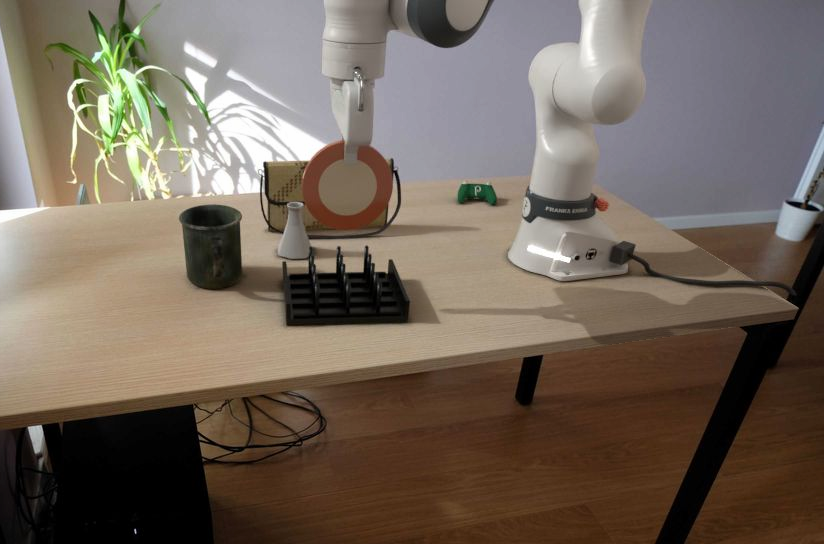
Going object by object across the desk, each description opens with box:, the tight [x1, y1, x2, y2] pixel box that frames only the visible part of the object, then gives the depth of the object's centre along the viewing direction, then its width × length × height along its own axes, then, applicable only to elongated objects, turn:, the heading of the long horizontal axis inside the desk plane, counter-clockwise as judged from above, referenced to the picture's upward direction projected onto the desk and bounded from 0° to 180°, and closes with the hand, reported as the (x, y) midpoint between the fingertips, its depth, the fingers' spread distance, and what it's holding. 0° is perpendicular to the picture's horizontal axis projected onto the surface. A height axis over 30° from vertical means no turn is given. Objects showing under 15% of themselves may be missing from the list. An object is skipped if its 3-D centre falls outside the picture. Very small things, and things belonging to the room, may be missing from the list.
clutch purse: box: [257, 157, 402, 239], centre depth 137 cm, size 30×7×15 cm, turn 99°
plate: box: [302, 139, 394, 231], centre depth 102 cm, size 14×1×14 cm, turn 95°
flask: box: [277, 202, 312, 260], centre depth 129 cm, size 7×7×10 cm
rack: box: [281, 245, 411, 327], centre depth 113 cm, size 20×16×7 cm
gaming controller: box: [457, 180, 498, 206], centre depth 158 cm, size 9×4×6 cm
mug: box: [178, 204, 243, 290], centre depth 117 cm, size 11×15×12 cm
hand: (348, 160), depth 100 cm, fingers closed on plate, 1 cm apart
